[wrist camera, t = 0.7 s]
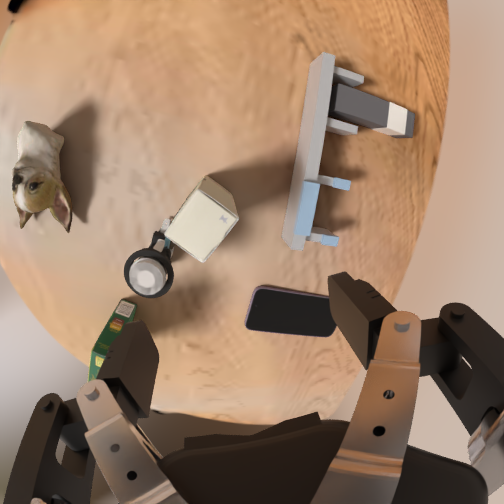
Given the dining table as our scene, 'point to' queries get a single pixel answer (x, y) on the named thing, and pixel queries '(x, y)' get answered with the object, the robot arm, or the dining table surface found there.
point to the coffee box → (110, 335)
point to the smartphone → (289, 313)
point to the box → (203, 219)
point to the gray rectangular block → (370, 112)
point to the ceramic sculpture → (40, 175)
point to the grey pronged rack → (315, 153)
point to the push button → (151, 266)
